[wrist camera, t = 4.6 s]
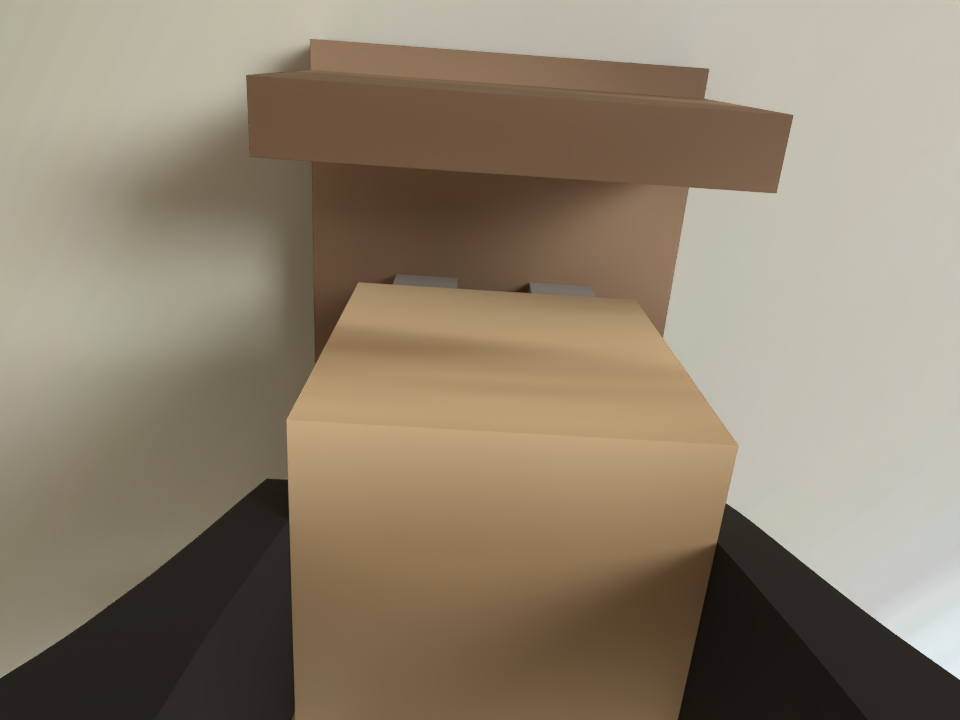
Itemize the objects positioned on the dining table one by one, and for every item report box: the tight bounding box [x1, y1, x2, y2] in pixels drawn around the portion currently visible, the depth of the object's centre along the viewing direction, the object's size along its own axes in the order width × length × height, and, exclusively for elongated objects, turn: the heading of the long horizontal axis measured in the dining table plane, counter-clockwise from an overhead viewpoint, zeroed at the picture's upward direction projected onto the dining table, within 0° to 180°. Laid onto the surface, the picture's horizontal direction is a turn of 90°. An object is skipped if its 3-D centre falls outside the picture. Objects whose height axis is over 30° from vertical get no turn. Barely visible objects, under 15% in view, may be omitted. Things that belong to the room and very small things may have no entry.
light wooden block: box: [286, 282, 738, 720], centre depth 11 cm, size 4×4×5 cm
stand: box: [246, 39, 793, 720], centre depth 14 cm, size 12×7×5 cm, turn 176°
